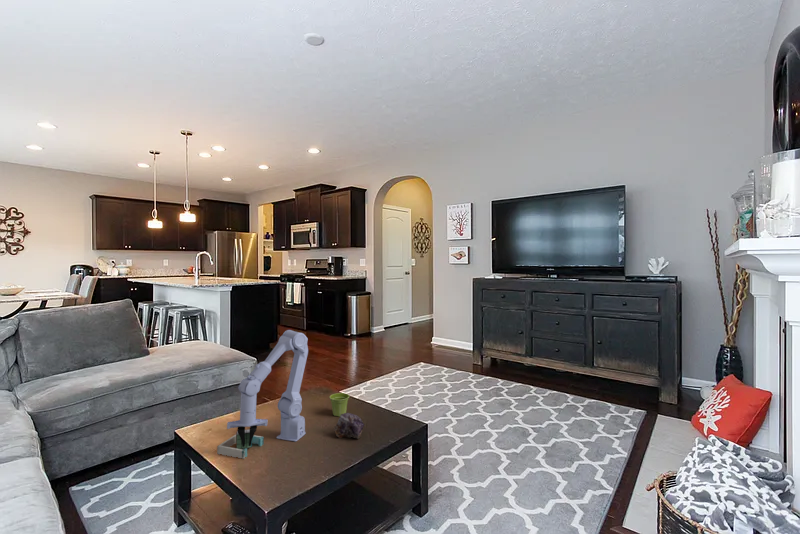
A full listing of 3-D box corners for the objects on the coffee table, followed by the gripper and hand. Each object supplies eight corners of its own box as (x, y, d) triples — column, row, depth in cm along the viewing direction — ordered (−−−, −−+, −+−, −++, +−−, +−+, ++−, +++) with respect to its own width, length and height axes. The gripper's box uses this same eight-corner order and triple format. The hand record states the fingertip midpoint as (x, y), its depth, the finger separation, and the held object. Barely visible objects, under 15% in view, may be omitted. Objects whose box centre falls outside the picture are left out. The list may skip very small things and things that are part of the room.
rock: (355, 445, 162) (366, 434, 172) (358, 425, 161) (368, 415, 171) (330, 436, 166) (342, 425, 175) (333, 417, 165) (344, 407, 174)
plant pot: (327, 412, 192) (327, 394, 192) (346, 409, 196) (346, 391, 196) (332, 419, 184) (332, 401, 183) (351, 416, 188) (352, 398, 187)
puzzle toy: (251, 447, 155) (251, 432, 156) (236, 450, 153) (236, 434, 154) (251, 443, 160) (251, 428, 161) (236, 445, 158) (236, 431, 159)
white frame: (263, 444, 160) (263, 436, 160) (243, 458, 148) (243, 451, 148) (238, 439, 163) (238, 432, 163) (217, 453, 152) (217, 446, 152)
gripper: (268, 405, 159) (266, 439, 159) (229, 407, 155) (227, 442, 155) (267, 411, 152) (266, 447, 152) (226, 414, 148) (225, 450, 148)
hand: (246, 445), depth 153 cm, fingers closed on puzzle toy, 2 cm apart
